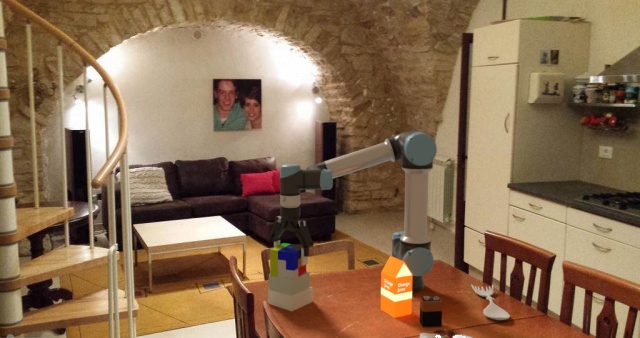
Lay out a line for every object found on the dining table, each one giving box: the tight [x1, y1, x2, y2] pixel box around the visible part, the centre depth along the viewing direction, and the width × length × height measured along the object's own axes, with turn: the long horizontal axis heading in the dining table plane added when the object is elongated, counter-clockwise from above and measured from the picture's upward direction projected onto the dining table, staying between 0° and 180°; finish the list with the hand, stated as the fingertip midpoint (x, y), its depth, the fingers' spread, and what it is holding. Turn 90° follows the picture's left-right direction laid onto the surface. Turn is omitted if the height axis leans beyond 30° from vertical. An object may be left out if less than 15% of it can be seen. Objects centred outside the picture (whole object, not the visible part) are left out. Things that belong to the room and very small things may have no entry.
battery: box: [419, 295, 443, 328], centre depth 186 cm, size 4×7×10 cm, turn 94°
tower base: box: [267, 286, 314, 312], centre depth 206 cm, size 12×12×6 cm
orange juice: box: [380, 255, 413, 319], centre depth 197 cm, size 8×9×20 cm
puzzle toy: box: [269, 242, 307, 280], centre depth 204 cm, size 10×10×10 cm
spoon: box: [471, 284, 511, 321], centre depth 203 cm, size 9×32×4 cm, turn 174°
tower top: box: [268, 270, 311, 296], centre depth 205 cm, size 11×11×6 cm
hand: (290, 261), depth 205 cm, fingers open, 13 cm apart
